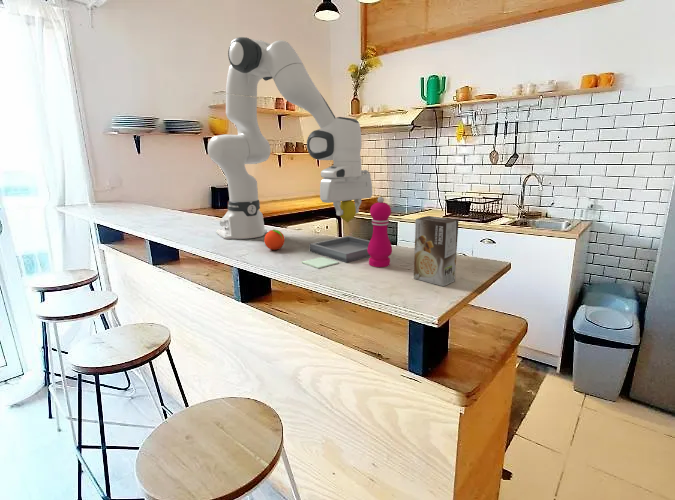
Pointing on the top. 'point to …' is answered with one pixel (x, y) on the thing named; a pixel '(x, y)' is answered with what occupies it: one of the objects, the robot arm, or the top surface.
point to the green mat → (320, 262)
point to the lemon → (348, 210)
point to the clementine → (274, 239)
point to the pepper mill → (380, 235)
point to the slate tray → (342, 248)
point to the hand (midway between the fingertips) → (347, 214)
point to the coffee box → (435, 249)
